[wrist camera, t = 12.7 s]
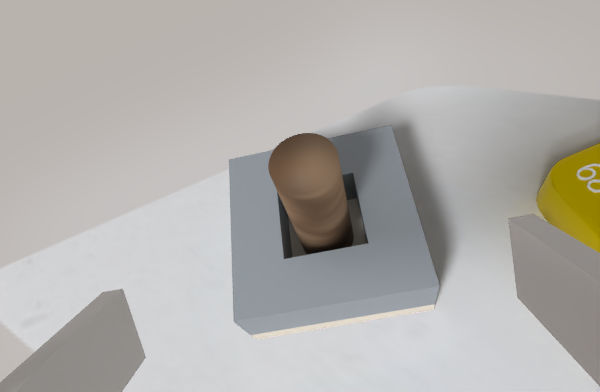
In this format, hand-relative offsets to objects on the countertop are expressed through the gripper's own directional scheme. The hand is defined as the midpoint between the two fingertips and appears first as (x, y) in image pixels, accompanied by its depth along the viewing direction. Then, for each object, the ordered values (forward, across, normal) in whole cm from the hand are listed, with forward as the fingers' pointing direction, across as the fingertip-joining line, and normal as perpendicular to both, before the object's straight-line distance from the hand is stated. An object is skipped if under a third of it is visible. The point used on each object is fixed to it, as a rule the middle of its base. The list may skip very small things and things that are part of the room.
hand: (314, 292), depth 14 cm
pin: (+21, -1, -5) cm, 21 cm away
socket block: (+22, -1, -6) cm, 23 cm away
